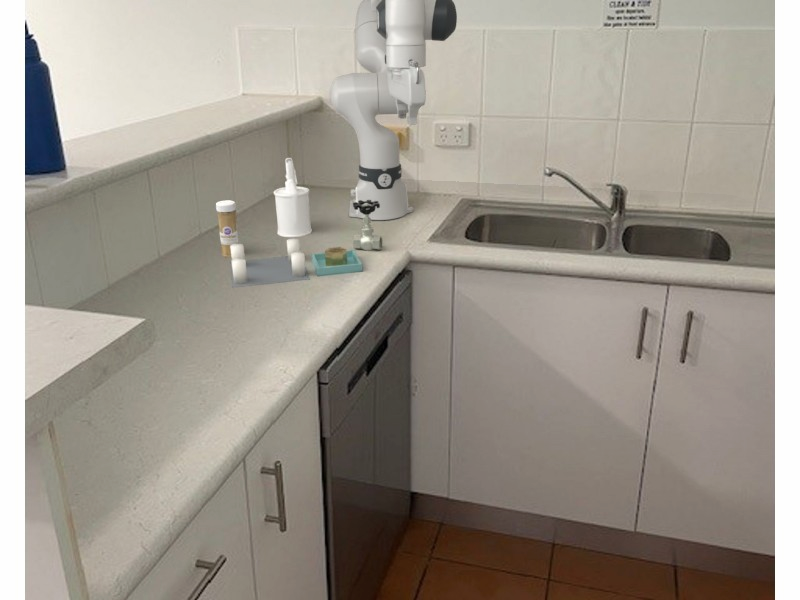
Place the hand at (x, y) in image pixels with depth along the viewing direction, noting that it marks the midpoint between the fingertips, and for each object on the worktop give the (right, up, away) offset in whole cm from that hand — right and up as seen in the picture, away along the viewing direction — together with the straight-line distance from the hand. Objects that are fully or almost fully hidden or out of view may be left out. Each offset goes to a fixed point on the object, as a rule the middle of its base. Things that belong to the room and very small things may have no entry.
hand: (407, 121), depth 167 cm
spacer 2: (-37, -37, -7) cm, 53 cm away
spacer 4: (-24, -36, -4) cm, 43 cm away
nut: (-16, -33, +1) cm, 37 cm away
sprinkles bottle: (-43, -31, +10) cm, 54 cm away
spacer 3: (-27, -32, +5) cm, 42 cm away
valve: (-10, -29, +12) cm, 33 cm away
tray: (-16, -34, +1) cm, 37 cm away
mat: (-32, -35, -1) cm, 47 cm away
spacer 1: (-39, -33, +2) cm, 52 cm away
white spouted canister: (-30, -24, +26) cm, 46 cm away
